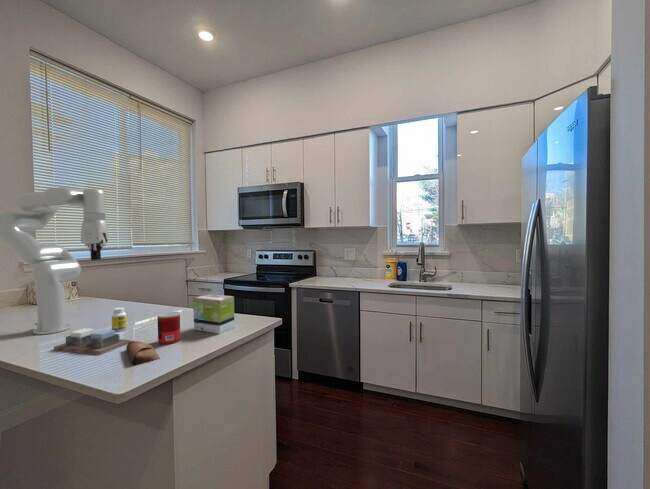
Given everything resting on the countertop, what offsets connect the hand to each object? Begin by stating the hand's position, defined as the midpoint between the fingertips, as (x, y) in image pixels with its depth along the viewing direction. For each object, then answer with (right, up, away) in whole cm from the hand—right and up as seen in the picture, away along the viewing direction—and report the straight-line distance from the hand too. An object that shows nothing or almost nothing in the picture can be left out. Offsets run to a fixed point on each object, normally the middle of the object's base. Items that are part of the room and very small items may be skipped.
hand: (95, 259), depth 132 cm
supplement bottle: (+7, -32, +4) cm, 33 cm away
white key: (+7, -30, -15) cm, 34 cm away
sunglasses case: (+36, -33, -26) cm, 55 cm away
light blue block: (+16, -30, -18) cm, 38 cm away
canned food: (+38, -32, -12) cm, 52 cm away
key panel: (+12, -32, -17) cm, 38 cm away
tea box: (+51, -32, +3) cm, 60 cm away
